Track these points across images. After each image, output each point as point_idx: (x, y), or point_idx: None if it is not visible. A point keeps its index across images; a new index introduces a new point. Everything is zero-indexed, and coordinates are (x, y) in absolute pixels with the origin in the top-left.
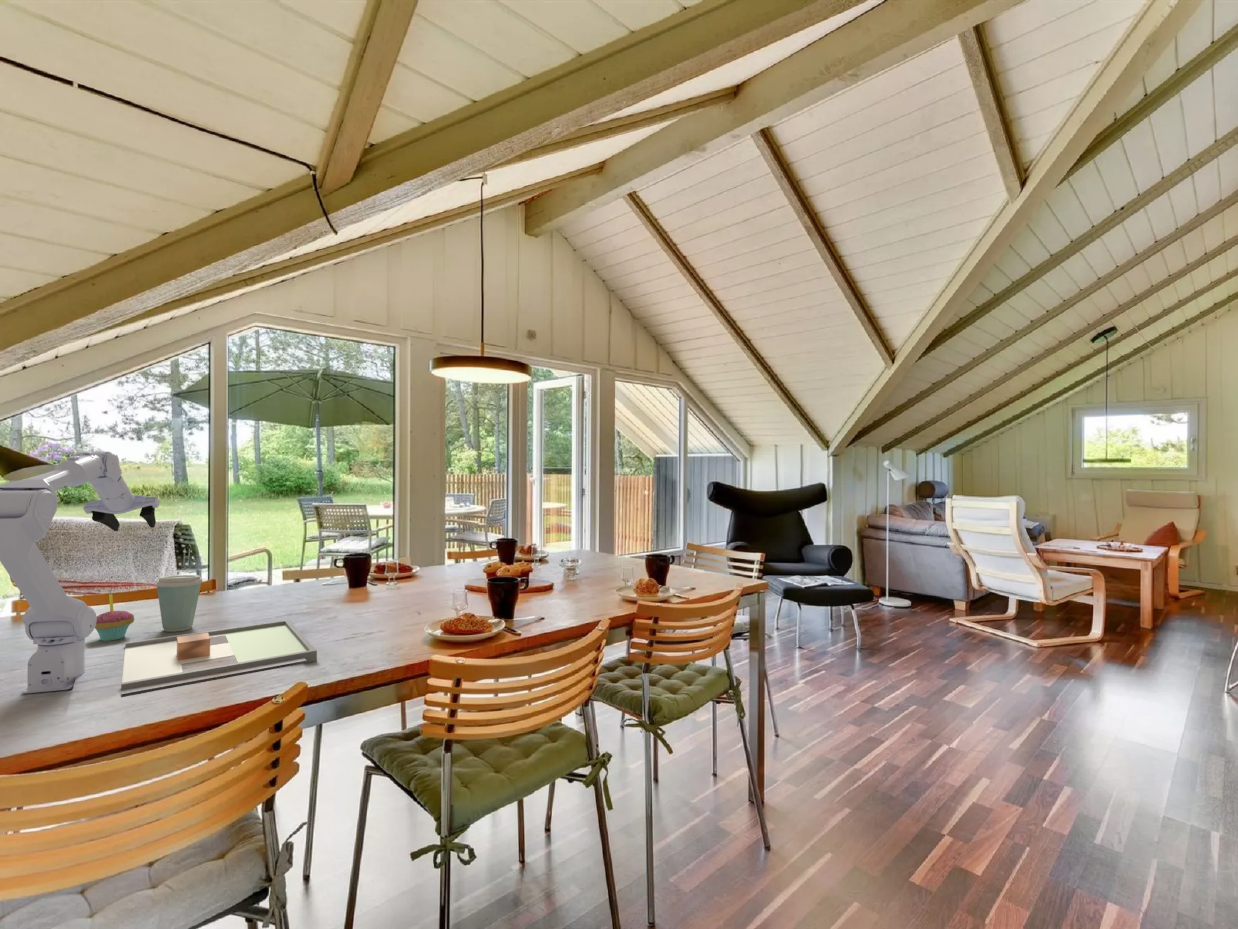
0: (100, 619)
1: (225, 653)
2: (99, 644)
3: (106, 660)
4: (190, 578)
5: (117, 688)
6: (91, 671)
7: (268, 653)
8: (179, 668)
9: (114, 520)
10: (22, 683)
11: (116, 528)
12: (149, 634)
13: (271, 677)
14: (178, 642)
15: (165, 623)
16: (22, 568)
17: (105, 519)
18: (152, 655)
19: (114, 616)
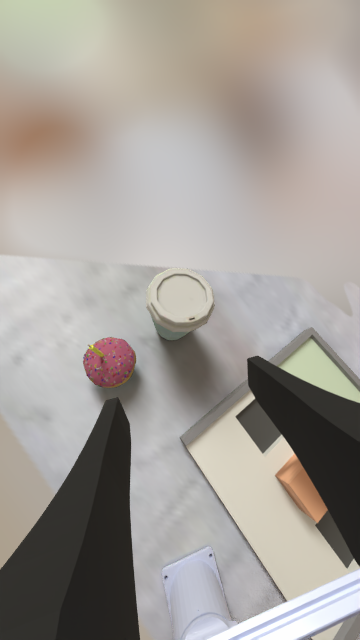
0: (102, 382)
1: None
2: (116, 395)
3: (179, 473)
4: (210, 308)
5: None
6: (195, 528)
7: None
8: (328, 548)
9: (116, 453)
10: (140, 595)
11: (129, 436)
12: (151, 349)
13: None
14: (315, 519)
15: (167, 338)
16: None
17: (133, 603)
18: (248, 483)
19: (119, 374)
